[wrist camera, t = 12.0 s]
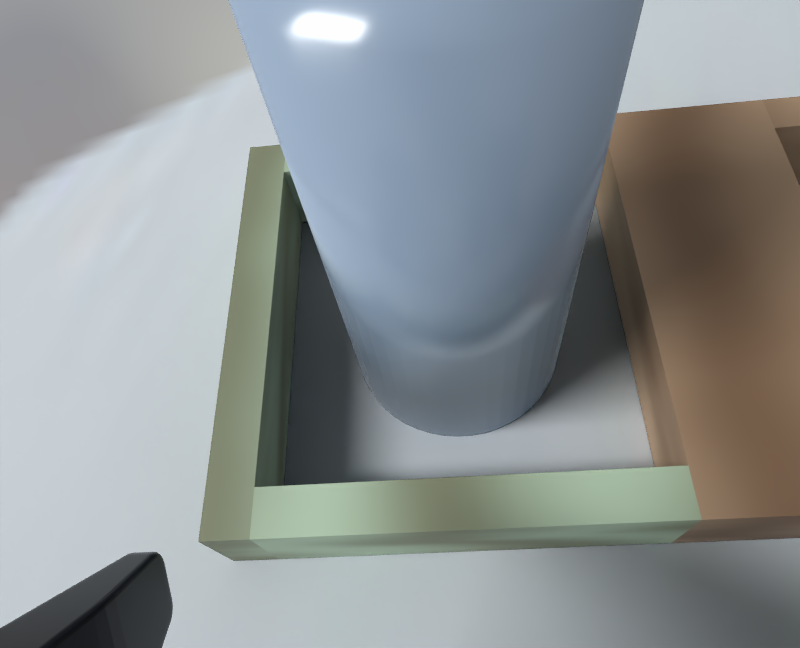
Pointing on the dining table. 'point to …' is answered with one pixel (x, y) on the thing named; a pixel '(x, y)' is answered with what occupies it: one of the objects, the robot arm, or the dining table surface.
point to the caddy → (648, 348)
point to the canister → (446, 180)
